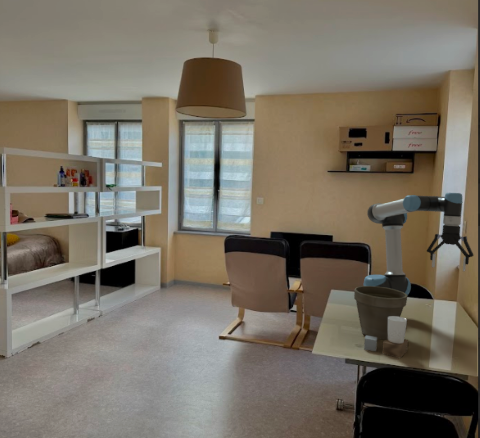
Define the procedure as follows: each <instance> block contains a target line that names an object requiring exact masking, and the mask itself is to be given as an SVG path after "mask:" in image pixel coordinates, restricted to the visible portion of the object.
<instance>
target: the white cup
mask: <svg viewBox="0 0 480 438" xmlns="http://www.w3.org/2000/svg"><path fill="white" fill-rule="evenodd" d="M407 321H408V319H407V318H405V317H403V316H400V317H397V316H390V317H388V341H390V342H392V343H398V344H400V343H404V339H405V337H406V330H407V323H408V322H407Z"/></svg>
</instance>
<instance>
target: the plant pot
mask: <svg viewBox="0 0 480 438" xmlns="http://www.w3.org/2000/svg"><path fill="white" fill-rule="evenodd" d="M353 296H354V300H355V302H356V307H357V313H358V318H359V319H358V320H359V324H360V331H361V333H362V334H363V336H364V335H365V336H366V335H367V336H374V337H377V340H387V339H388V317H390V316H397V317H402V313H403V310H404V307H406V306H407V301H408V295H407V294H405V293H404V292H401V291H398V290H394V289H390V288H384V287H376V286H364V285H361V286H356V287H355V288H354V294H353Z"/></svg>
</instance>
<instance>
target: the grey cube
mask: <svg viewBox="0 0 480 438" xmlns="http://www.w3.org/2000/svg"><path fill="white" fill-rule="evenodd" d="M377 343H378V339H377V337H374V336H367V335H365V336H364V344H363V350H365V351H370V352H371V351H372V352H376V351H377V348H378V347H377V345H378V344H377Z"/></svg>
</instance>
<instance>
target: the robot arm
mask: <svg viewBox="0 0 480 438" xmlns="http://www.w3.org/2000/svg"><path fill="white" fill-rule="evenodd" d="M462 208H463V193H460V192H445V195H444V196H439V195H437V196H435V195H415V194H412V195H406V196H404V198H401V199H397V200H394V201H389V202H386V203H381V202H378V203H373V204H371V205H370V206H369V207H368V209H367V212H366V213H367V217H368V219H369V220H370V221H371V223H375V224H379V225H380V224H381V227H382V229H383V230H384V235H385V236H384V237H385V256H386V259H385V260H386V271H385V273H384V274H369V275H367V276H365V277H364V280H363V283H362V284H363V285H362V286H376V287H384V288H390V289H394V290H398V291H401V292H404V293H405V294H407V296H409V294H410V292H411V288H412V286H411V285H412V284H411V281H410V279H409V278H408V277H407V275H406V273H405V272H404V271H403V252H402V248H403V247H402V231H401V230H402V229H403V228H404V224H405V223H407V220H408V214H409V213H413V212H435V213H436V212H438V213H439V212H440V213H442V212H443V221H442V224H443V225H442V233H441V234H438V233H435V234H434V238H433V239H432V242H431V243H430V244H429V246H428V247H427V250H426V252H427V253H429V254H430V255H429V258H430V261H432V262H431V268H435V267H436V255H437V254H436V253H435V252H437V251H438V250H439V249H440V248H441V247H442V246H443V245H444V244H445V245H452V246H454V245H455V246H456V247H457V248H458V249H459V251H460V252H461V253H462V254H463V256H464V257H463V261H462V272H466V267H467V265H468V264H469V261H470V258H473V257H474V255H475V254H474V253H473V251H472V249H471V246H470V244H469V242H468V236H461V235H460V234H461V226H460V225H461V224H462V221H461V220H462ZM440 238H441V241H440V243H438V244H437V245H436V246H435V244H436V243H437V241H438V240H440ZM459 241H462V242H463V244H464V246H465V248H466V250H467V251H466V250H465V248H464V247H463V246H462V245H461V243H460V242H459ZM434 246H435V247H434ZM433 247H434V248H433Z"/></svg>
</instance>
